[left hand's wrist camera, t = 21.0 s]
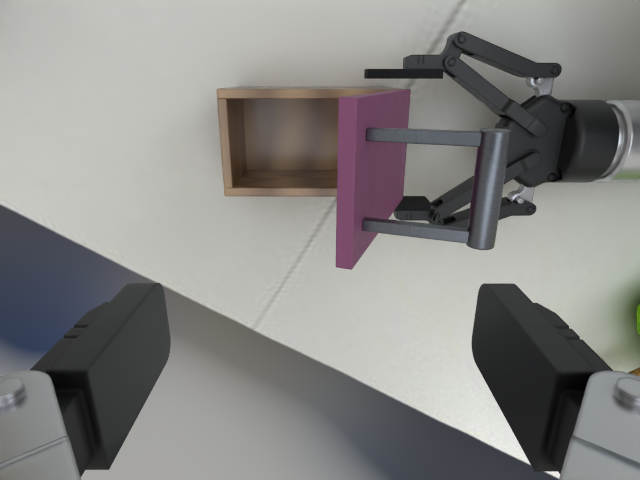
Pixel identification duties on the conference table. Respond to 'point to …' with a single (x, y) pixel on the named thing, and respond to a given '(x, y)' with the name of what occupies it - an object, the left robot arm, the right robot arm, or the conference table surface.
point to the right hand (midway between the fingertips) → (363, 141)
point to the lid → (389, 169)
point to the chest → (281, 139)
